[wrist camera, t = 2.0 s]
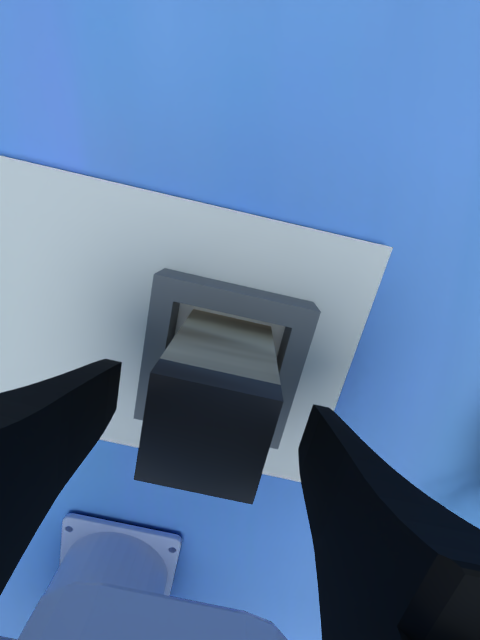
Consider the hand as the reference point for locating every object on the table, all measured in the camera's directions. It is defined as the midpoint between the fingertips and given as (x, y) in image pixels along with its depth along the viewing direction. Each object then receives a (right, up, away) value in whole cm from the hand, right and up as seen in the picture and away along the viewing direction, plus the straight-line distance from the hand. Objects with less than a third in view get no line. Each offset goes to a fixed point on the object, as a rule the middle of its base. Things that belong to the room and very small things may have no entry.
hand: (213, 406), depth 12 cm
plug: (0, +1, +5) cm, 5 cm away
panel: (-8, +4, +6) cm, 10 cm away
